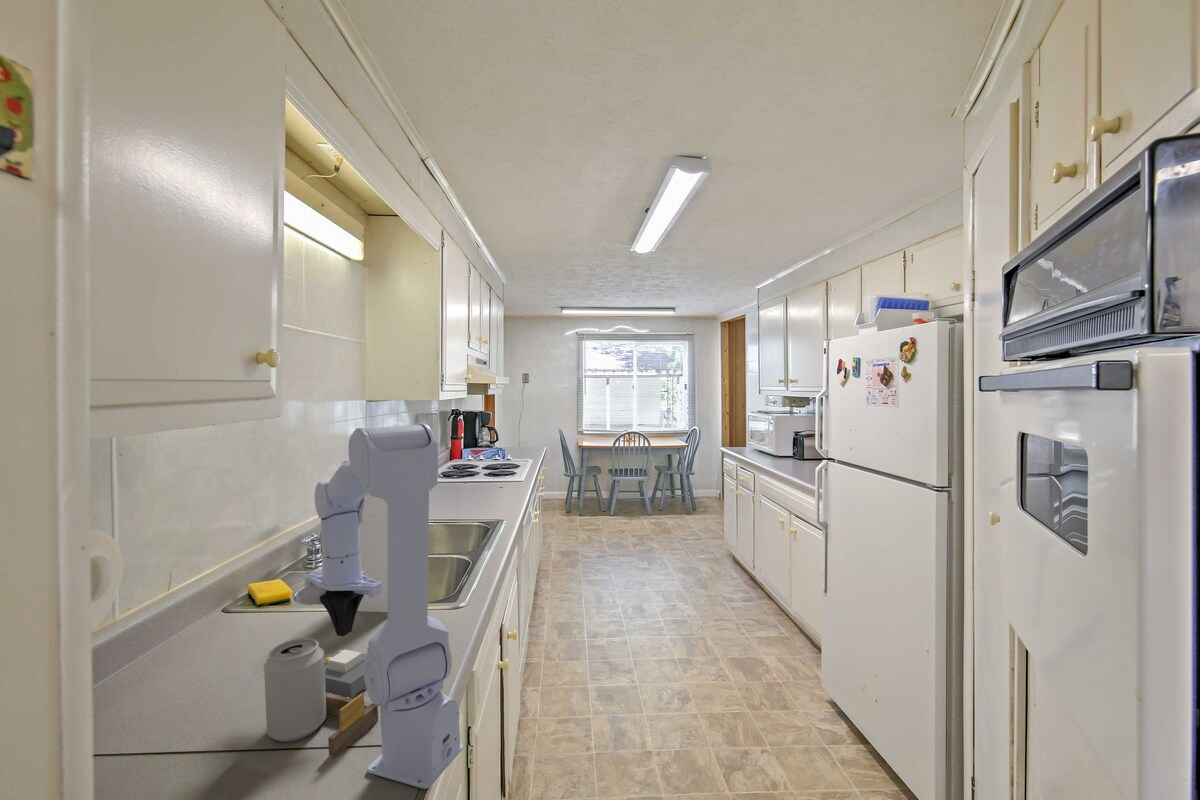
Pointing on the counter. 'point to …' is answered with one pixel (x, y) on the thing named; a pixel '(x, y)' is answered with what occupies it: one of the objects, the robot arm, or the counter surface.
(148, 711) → the counter surface
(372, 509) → the milk
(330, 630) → the counter surface
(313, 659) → the can
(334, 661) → the block
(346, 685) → the panel
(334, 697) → the lockout bracket
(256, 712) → the counter surface
